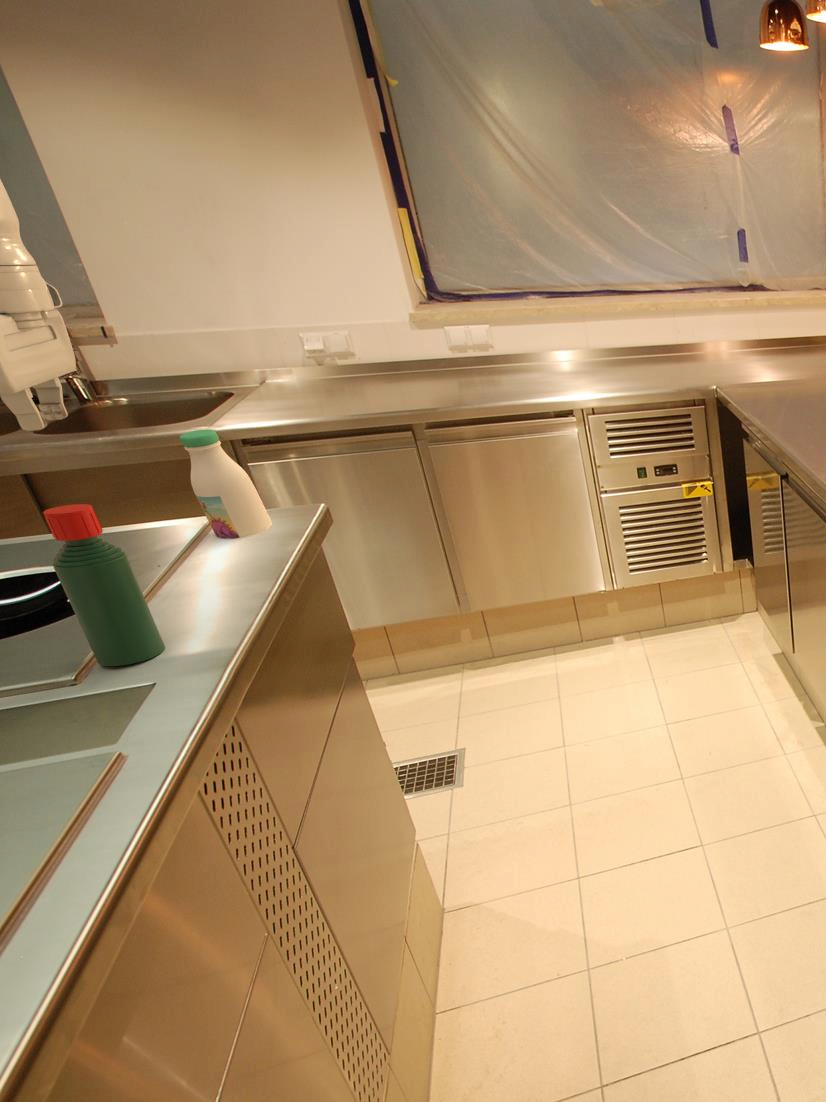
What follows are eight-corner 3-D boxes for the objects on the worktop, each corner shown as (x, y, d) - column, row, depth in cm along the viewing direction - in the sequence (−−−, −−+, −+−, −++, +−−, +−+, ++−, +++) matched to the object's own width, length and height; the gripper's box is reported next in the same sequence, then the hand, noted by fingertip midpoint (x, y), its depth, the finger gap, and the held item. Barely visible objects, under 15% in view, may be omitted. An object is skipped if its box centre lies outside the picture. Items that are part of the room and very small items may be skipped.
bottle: (90, 670, 102) (22, 525, 95) (106, 650, 107) (42, 510, 100) (158, 659, 105) (97, 518, 97) (171, 640, 110) (114, 504, 102)
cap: (107, 528, 102) (96, 502, 101) (96, 538, 99) (84, 511, 98) (62, 533, 100) (50, 506, 99) (49, 543, 97) (37, 515, 96)
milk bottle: (276, 534, 147) (222, 422, 136) (285, 547, 142) (230, 432, 132) (222, 548, 142) (162, 433, 132) (229, 562, 138) (168, 444, 127)
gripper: (-9, 299, 84) (51, 439, 89) (63, 289, 100) (110, 408, 105) (-100, 300, 81) (-32, 443, 87) (-11, 289, 97) (41, 411, 103)
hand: (46, 424), depth 96 cm, fingers open, 5 cm apart
